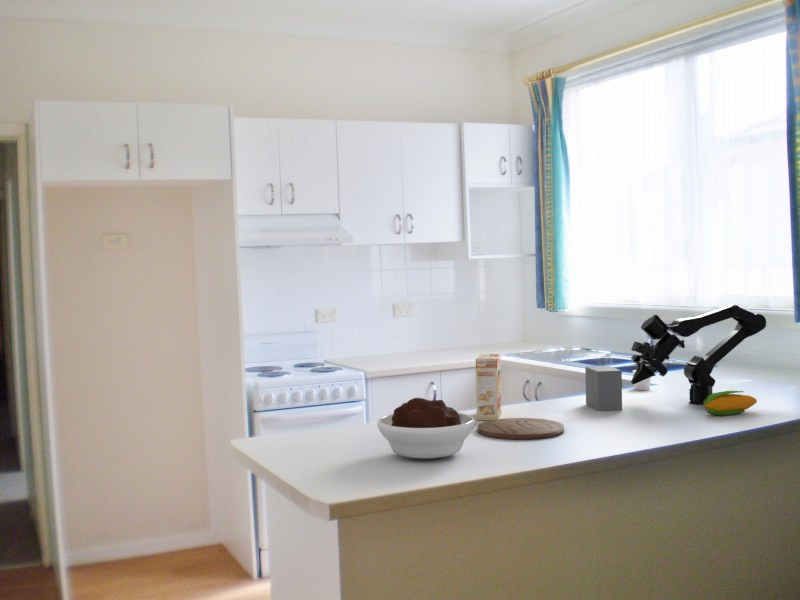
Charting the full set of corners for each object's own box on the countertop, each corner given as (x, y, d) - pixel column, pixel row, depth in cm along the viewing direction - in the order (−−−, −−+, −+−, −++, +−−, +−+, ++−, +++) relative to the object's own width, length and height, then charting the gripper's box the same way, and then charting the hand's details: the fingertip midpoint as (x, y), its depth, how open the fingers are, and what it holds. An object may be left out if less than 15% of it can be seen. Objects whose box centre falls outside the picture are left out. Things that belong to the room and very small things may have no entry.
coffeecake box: (498, 420, 258) (497, 358, 257) (475, 420, 260) (474, 358, 259) (502, 412, 273) (501, 353, 272) (480, 412, 274) (479, 353, 273)
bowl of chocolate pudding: (443, 441, 230) (441, 387, 229) (494, 458, 208) (493, 399, 207) (362, 453, 218) (360, 396, 218) (407, 472, 196) (406, 409, 196)
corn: (697, 390, 259) (747, 385, 267) (696, 414, 260) (745, 408, 267) (714, 395, 253) (764, 390, 260) (713, 419, 253) (763, 413, 261)
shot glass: (629, 388, 318) (628, 370, 318) (644, 386, 320) (644, 368, 320) (639, 390, 311) (639, 372, 311) (655, 389, 313) (654, 370, 313)
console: (608, 403, 284) (608, 365, 284) (622, 409, 271) (621, 370, 271) (586, 404, 284) (585, 366, 283) (598, 410, 271) (597, 371, 270)
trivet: (496, 444, 226) (496, 437, 226) (465, 427, 250) (465, 421, 250) (579, 437, 233) (579, 430, 233) (541, 421, 257) (541, 415, 257)
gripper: (635, 330, 287) (605, 364, 286) (657, 335, 268) (625, 370, 268) (658, 352, 288) (628, 385, 287) (681, 358, 269) (649, 393, 269)
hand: (632, 383), depth 278 cm, fingers closed
